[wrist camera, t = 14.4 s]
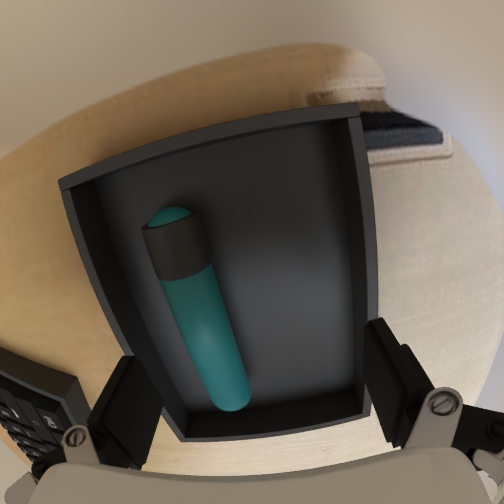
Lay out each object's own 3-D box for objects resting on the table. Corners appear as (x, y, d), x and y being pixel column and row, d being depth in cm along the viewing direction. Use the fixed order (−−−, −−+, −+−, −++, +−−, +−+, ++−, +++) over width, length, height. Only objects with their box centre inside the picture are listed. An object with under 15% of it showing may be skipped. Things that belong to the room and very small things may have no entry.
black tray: (359, 386, 18) (370, 416, 16) (186, 412, 19) (180, 442, 17) (336, 110, 12) (357, 101, 9) (88, 172, 13) (56, 180, 10)
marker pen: (258, 415, 15) (215, 422, 15) (254, 385, 18) (215, 392, 18) (191, 205, 11) (129, 223, 11) (197, 195, 13) (145, 210, 13)
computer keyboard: (155, 519, 34) (152, 533, 30) (84, 496, 33) (80, 509, 30) (77, 377, 19) (58, 409, 15) (-27, 333, 18) (-46, 351, 14)
